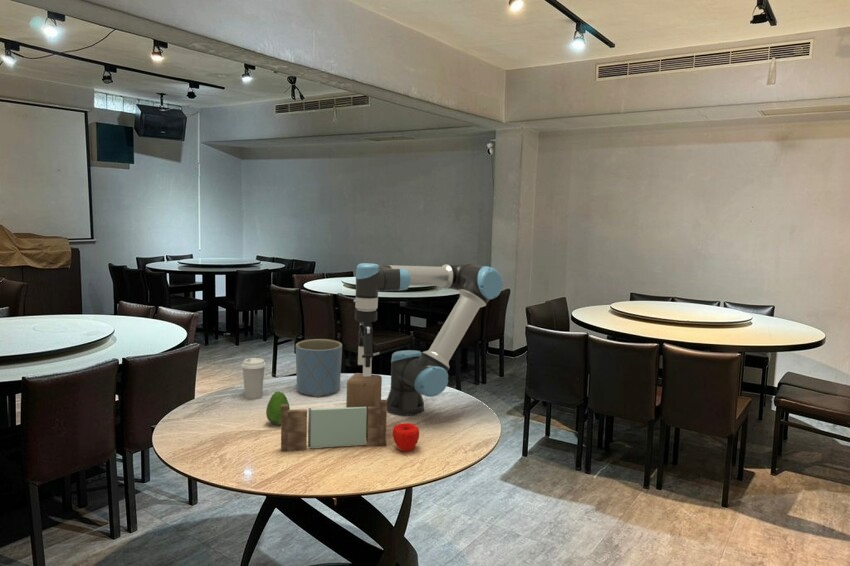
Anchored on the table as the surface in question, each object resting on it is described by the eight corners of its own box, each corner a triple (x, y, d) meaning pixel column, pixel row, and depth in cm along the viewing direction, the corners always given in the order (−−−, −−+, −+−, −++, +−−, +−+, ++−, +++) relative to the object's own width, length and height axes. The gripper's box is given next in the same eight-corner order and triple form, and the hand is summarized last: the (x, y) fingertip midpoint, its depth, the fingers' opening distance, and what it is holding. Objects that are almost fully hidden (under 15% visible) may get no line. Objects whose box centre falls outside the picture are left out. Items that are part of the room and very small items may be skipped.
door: (365, 443, 191) (366, 405, 189) (365, 444, 190) (366, 406, 188) (308, 446, 187) (308, 407, 185) (308, 447, 185) (308, 409, 184)
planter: (319, 401, 230) (320, 352, 227) (285, 391, 240) (285, 344, 237) (350, 389, 246) (351, 343, 243) (317, 380, 256) (318, 336, 253)
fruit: (272, 418, 210) (272, 386, 208) (293, 421, 209) (293, 389, 207) (262, 426, 202) (262, 393, 201) (283, 429, 201) (283, 396, 199)
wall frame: (384, 442, 193) (385, 399, 191) (385, 445, 191) (387, 402, 189) (281, 448, 185) (281, 403, 183) (280, 451, 183) (281, 406, 181)
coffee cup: (247, 392, 237) (247, 356, 235) (269, 393, 236) (269, 358, 234) (236, 399, 228) (236, 362, 226) (259, 401, 227) (259, 364, 225)
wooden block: (372, 440, 195) (374, 383, 192) (344, 436, 197) (345, 380, 194) (380, 429, 205) (382, 374, 202) (354, 425, 206) (355, 371, 204)
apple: (393, 442, 194) (393, 420, 192) (419, 443, 193) (420, 421, 192) (390, 454, 185) (391, 430, 184) (418, 455, 184) (419, 432, 183)
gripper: (351, 302, 206) (349, 360, 209) (359, 316, 182) (357, 381, 184) (372, 302, 207) (370, 360, 210) (383, 316, 183) (380, 380, 186)
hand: (364, 370), depth 197 cm, fingers open, 13 cm apart
